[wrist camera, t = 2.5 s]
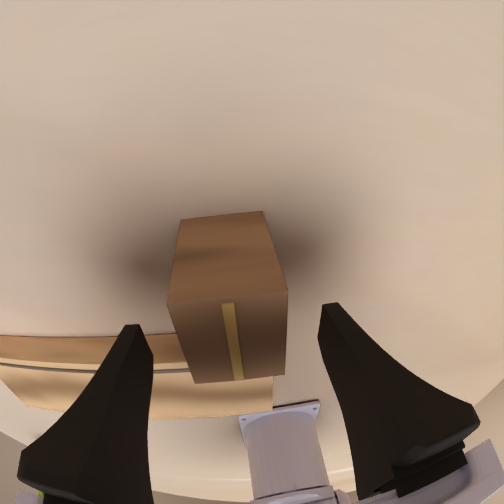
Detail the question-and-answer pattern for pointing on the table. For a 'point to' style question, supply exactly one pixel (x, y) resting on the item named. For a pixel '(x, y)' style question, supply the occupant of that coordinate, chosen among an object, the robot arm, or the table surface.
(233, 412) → the oak board
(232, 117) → the table surface
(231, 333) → the block
